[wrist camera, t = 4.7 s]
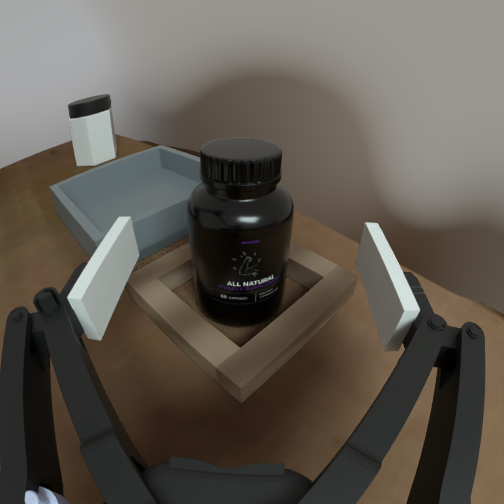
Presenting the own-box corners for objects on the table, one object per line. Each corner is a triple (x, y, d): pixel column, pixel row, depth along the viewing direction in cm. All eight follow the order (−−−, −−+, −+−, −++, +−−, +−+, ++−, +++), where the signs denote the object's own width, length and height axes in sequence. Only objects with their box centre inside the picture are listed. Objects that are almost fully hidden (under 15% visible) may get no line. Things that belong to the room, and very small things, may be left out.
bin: (57, 213, 36) (49, 186, 33) (163, 169, 46) (161, 145, 44) (106, 278, 26) (94, 241, 24) (247, 206, 36) (247, 174, 34)
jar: (127, 150, 55) (120, 92, 48) (103, 166, 49) (93, 101, 42) (92, 152, 57) (84, 97, 50) (68, 167, 50) (57, 107, 43)
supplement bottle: (244, 347, 21) (243, 179, 14) (179, 300, 24) (156, 151, 17) (301, 293, 25) (320, 147, 18) (237, 259, 28) (235, 127, 21)
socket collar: (129, 295, 24) (123, 277, 23) (240, 232, 32) (240, 215, 31) (241, 403, 17) (240, 388, 16) (353, 294, 25) (358, 276, 24)
